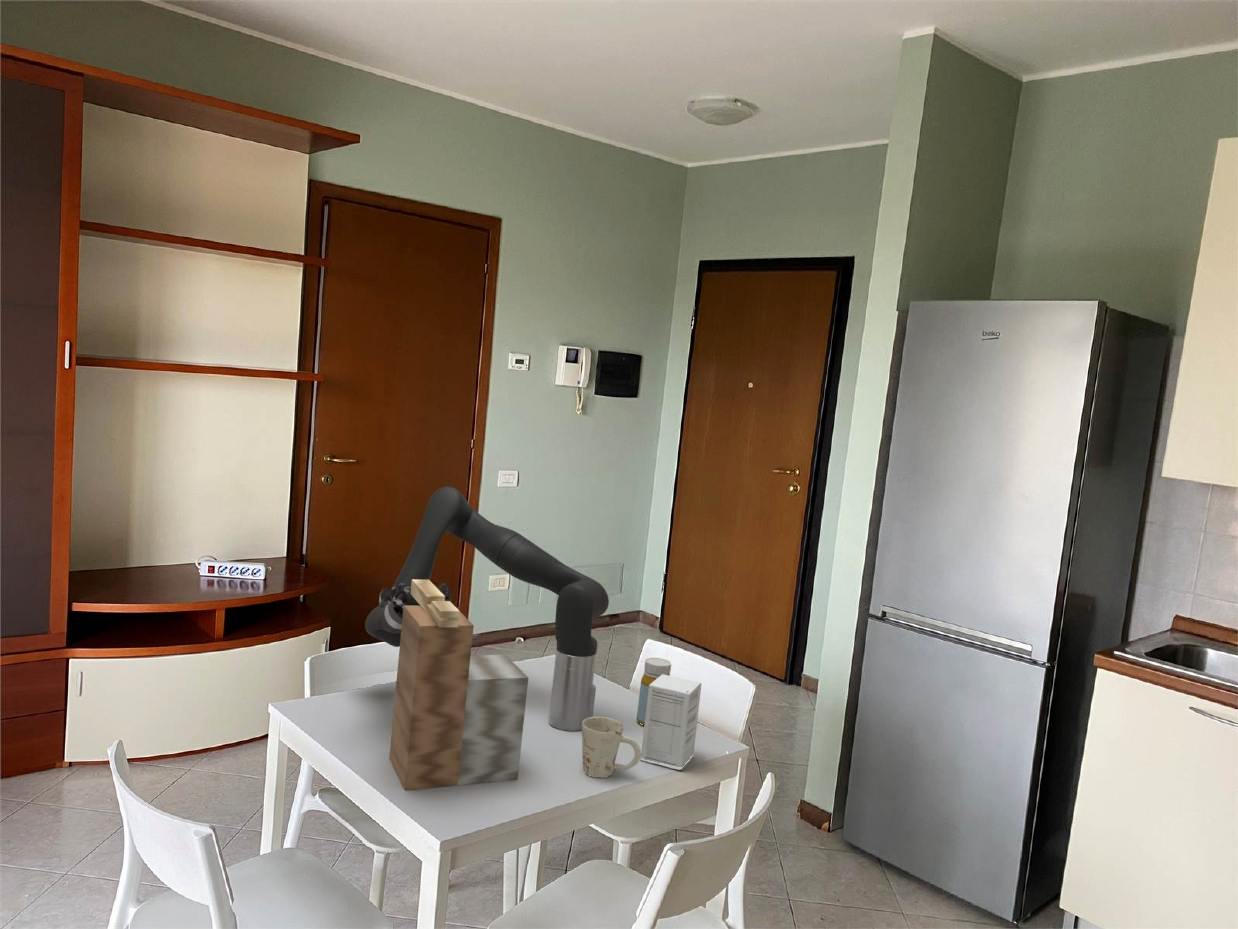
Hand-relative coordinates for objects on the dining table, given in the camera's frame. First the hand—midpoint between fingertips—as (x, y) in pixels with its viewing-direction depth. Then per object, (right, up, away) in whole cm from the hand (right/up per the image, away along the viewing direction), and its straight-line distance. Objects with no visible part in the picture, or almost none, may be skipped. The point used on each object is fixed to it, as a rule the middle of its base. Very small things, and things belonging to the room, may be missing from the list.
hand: (423, 587), depth 183 cm
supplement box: (+50, -38, +11) cm, 64 cm away
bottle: (+47, -36, +31) cm, 67 cm away
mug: (+37, -38, 0) cm, 53 cm away
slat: (+3, -3, -7) cm, 9 cm away
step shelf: (+7, -35, -6) cm, 36 cm away
